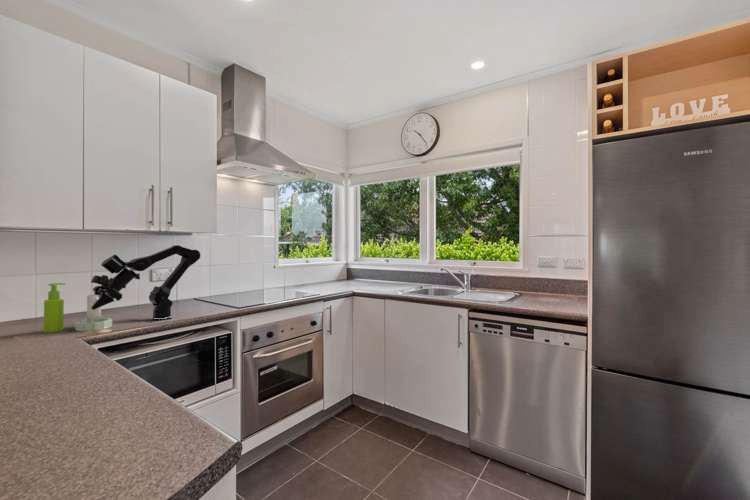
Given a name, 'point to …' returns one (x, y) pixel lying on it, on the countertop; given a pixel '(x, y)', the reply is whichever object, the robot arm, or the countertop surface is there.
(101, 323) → the bowl
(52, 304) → the soap dispenser
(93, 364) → the countertop surface
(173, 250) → the robot arm
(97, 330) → the cork mat
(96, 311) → the white dome-topped cylinder
